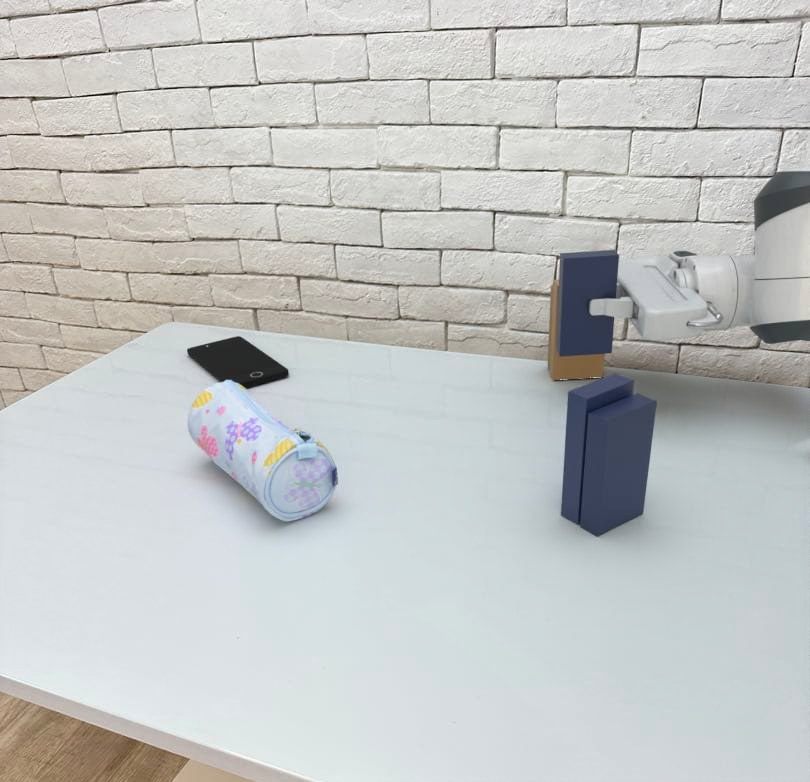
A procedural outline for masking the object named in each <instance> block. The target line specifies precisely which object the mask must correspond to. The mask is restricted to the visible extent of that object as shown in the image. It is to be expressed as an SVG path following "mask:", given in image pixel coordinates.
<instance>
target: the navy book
mask: <svg viewBox="0 0 810 782" xmlns="http://www.w3.org/2000/svg"><path fill="white" fill-rule="evenodd" d="M619 260H620V254H619V253H618V252H617V250H615V249H606V250H605V249H603V250H591V251H573V252H561V253H559V266H558V267H559V269H558V280H559V292H558V317H557V342H556V350H557V352H558V354H559V356H560V357H561V356H577V355H592V354H605V355H607V354H613V340H614V328H615V317H612V316H606V315H594V316H593V315H591V314H590V312H589V310H588V300H589V299H590V298H591V297H602V296H603V297H604V298H610V299H616V290H617V277H618V264H619Z"/></svg>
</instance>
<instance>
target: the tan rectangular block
mask: <svg viewBox="0 0 810 782" xmlns="http://www.w3.org/2000/svg"><path fill="white" fill-rule="evenodd" d="M558 292H559V279H553V284H551V285H550V297H549V298H550V301H549V319H548V320H549V321H548V322H549V323H548V324H549V325H548V342H547V343H548V346H547V365H546V367H547V366H548V368H549V370H548V372H549V371H550V372H549V376H550V375H551V376H550V378H552V379H551V380H560V379H562V380H563V379H579V378H581V380H583V379H582V378H590V377H591V378H593V377H603V378H604V367H605V356H606V354H592V355H577V356H561V357H560V356H559V354H558V352H557V350H556V342H557V317H558ZM548 368H547V369H548Z"/></svg>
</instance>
